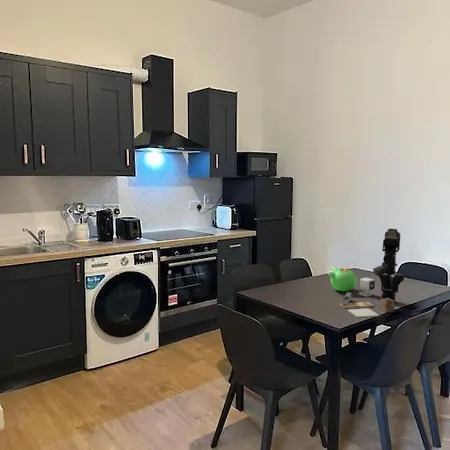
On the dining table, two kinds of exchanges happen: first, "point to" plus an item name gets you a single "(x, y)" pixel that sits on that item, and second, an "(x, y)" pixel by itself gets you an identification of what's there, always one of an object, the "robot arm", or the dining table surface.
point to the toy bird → (343, 279)
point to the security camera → (367, 286)
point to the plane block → (356, 305)
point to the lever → (347, 298)
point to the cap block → (387, 305)
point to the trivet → (363, 312)
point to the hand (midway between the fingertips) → (388, 290)
